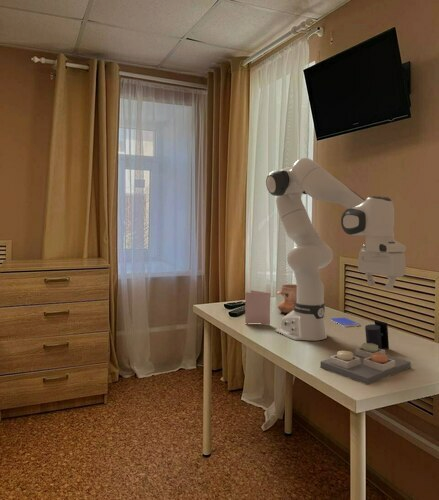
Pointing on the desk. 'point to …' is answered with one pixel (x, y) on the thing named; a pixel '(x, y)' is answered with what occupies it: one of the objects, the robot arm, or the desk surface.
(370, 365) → the button console
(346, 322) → the hard drive
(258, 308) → the greeting card
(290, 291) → the ceramic jug
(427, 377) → the desk surface
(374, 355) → the terracotta button
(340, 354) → the sand button
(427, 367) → the desk surface
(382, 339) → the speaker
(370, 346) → the sage button
